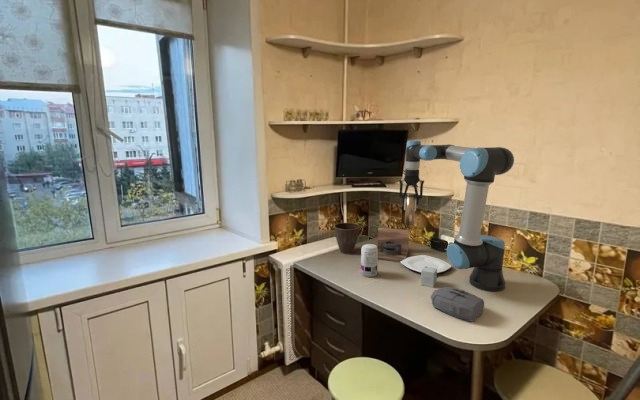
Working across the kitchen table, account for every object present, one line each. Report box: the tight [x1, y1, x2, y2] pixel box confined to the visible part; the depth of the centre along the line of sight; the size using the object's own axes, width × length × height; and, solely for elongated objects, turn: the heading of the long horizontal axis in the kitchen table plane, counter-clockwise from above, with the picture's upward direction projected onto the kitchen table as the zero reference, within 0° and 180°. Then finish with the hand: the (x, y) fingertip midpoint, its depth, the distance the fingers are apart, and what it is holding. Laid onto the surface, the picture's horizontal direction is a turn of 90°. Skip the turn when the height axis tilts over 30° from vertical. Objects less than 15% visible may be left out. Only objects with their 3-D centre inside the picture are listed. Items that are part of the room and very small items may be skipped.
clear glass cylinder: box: [404, 192, 416, 227], centre depth 194 cm, size 5×5×18 cm
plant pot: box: [333, 222, 360, 254], centre depth 205 cm, size 15×15×16 cm
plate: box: [399, 254, 453, 274], centre depth 182 cm, size 23×23×2 cm
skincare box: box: [420, 266, 438, 288], centre depth 162 cm, size 6×6×7 cm
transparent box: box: [377, 227, 410, 263], centre depth 198 cm, size 18×18×14 cm
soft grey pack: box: [430, 286, 485, 322], centre depth 139 cm, size 15×8×20 cm
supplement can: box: [360, 243, 379, 278], centre depth 173 cm, size 8×8×15 cm
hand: (410, 209), depth 194 cm, fingers closed on clear glass cylinder, 5 cm apart
